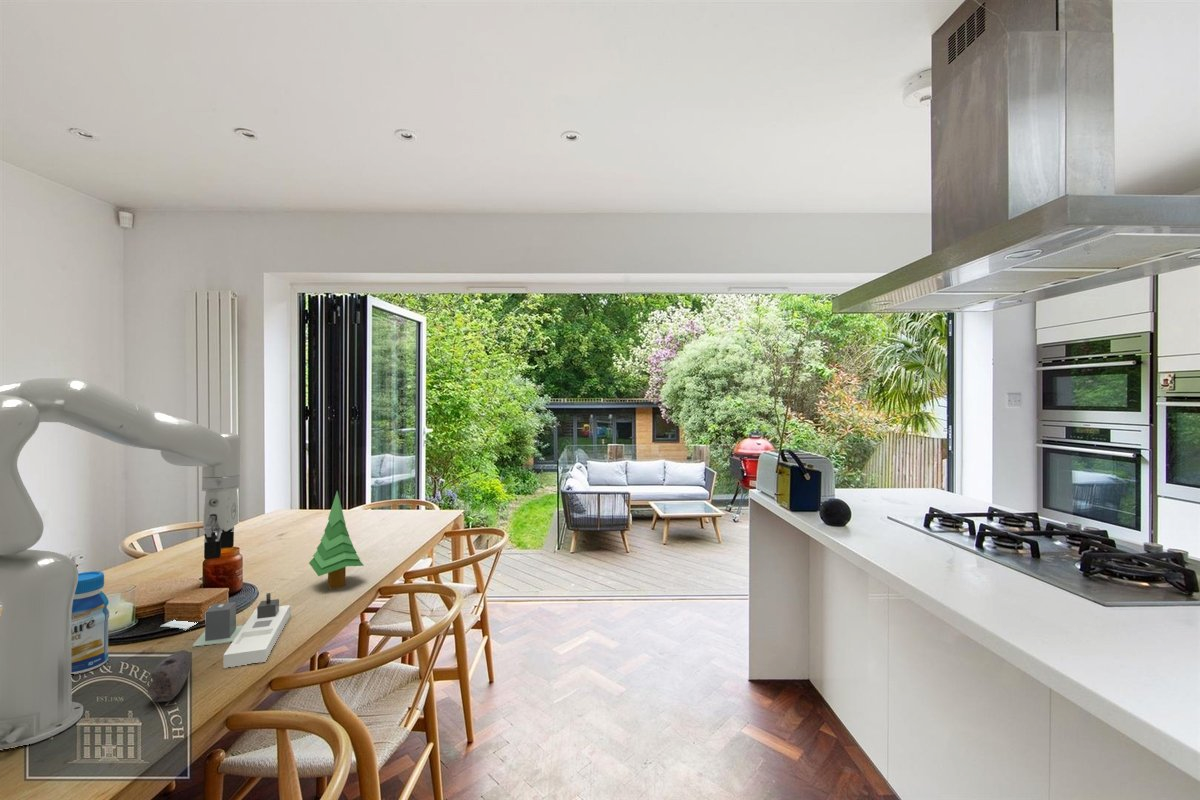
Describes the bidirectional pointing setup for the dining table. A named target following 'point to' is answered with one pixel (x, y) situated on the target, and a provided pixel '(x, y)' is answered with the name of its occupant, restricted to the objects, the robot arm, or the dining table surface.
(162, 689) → the perforated stone tool
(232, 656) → the power strip
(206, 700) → the dining table surface
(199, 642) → the mat
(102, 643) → the supplement bottle
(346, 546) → the decorative tree
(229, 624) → the charger
